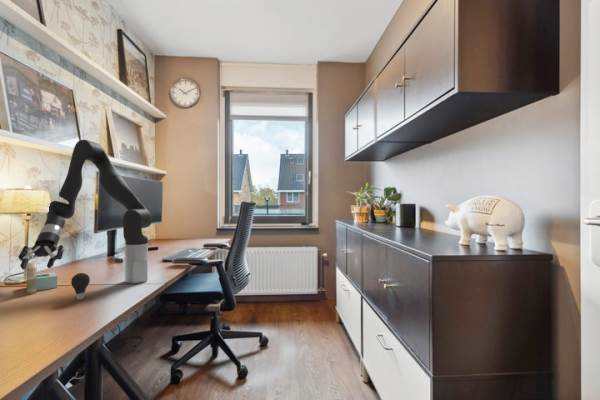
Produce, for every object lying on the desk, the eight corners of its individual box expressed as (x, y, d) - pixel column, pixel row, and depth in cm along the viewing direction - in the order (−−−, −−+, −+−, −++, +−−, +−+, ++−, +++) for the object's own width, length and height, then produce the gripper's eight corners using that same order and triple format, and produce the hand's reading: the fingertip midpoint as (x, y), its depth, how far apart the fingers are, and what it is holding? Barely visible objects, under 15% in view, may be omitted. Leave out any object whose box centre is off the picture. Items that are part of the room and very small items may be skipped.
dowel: (36, 293, 120) (37, 263, 120) (26, 295, 118) (27, 264, 118) (35, 292, 122) (36, 262, 122) (25, 293, 120) (26, 263, 120)
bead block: (57, 287, 129) (57, 275, 129) (28, 291, 122) (29, 279, 122) (54, 283, 135) (54, 272, 135) (26, 287, 128) (27, 275, 128)
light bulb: (92, 299, 114) (92, 272, 114) (75, 303, 109) (75, 275, 109) (85, 296, 116) (85, 270, 117) (67, 300, 112) (68, 273, 112)
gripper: (26, 231, 130) (10, 263, 119) (66, 230, 134) (54, 261, 123) (32, 242, 135) (17, 273, 124) (70, 241, 139) (59, 271, 128)
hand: (35, 267), depth 123 cm, fingers open, 8 cm apart
